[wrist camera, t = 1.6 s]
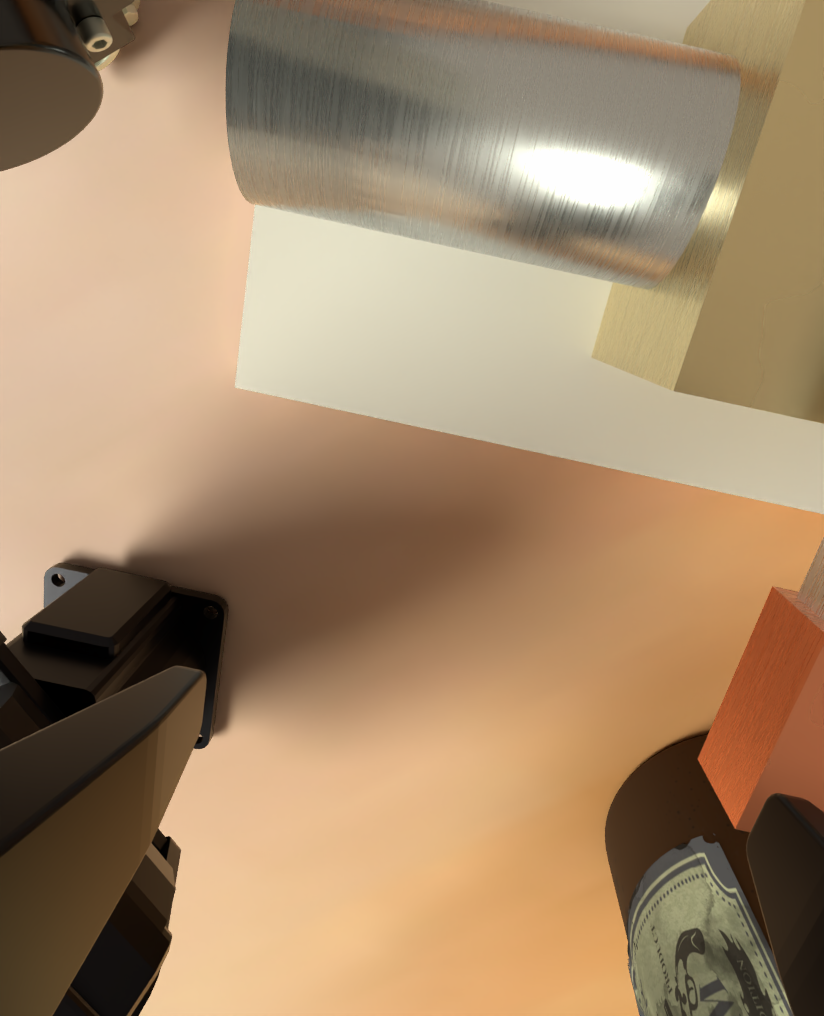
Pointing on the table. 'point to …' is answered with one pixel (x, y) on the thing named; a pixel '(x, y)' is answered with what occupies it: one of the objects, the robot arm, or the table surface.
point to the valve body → (568, 163)
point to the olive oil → (688, 895)
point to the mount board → (498, 342)
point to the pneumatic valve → (54, 69)
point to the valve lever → (774, 708)
